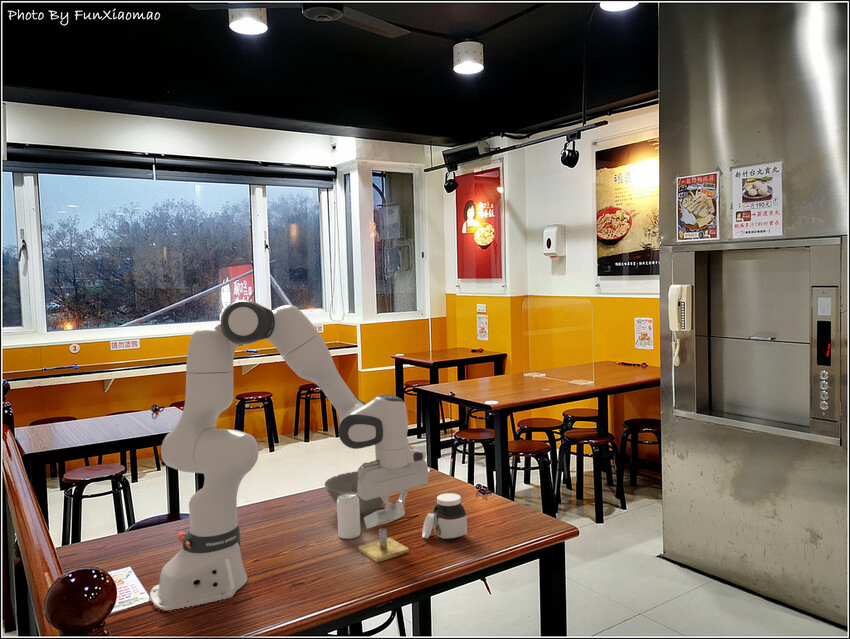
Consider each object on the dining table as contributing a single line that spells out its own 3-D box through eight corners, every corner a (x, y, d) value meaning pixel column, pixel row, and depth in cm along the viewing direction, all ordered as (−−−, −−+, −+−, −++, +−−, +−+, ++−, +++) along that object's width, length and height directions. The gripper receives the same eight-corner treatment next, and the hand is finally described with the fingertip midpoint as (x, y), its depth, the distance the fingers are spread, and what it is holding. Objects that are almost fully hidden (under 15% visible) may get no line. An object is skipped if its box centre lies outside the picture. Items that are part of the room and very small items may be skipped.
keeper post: (376, 562, 165) (375, 540, 165) (358, 550, 173) (357, 528, 173) (408, 552, 171) (407, 530, 170) (389, 540, 179) (388, 519, 179)
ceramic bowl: (342, 530, 188) (340, 497, 187) (316, 508, 208) (314, 478, 207) (408, 514, 199) (406, 483, 198) (377, 495, 219) (375, 466, 218)
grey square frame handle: (414, 510, 165) (411, 499, 166) (388, 517, 160) (385, 506, 162) (391, 521, 175) (388, 510, 176) (366, 528, 171) (363, 517, 172)
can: (356, 540, 180) (354, 499, 180) (335, 539, 182) (333, 498, 181) (363, 531, 187) (361, 491, 186) (342, 530, 188) (340, 491, 187)
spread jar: (471, 539, 177) (470, 499, 177) (437, 549, 172) (435, 507, 171) (448, 526, 188) (446, 488, 187) (415, 535, 182) (413, 496, 181)
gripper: (363, 467, 156) (366, 521, 157) (430, 451, 168) (432, 502, 169) (351, 461, 161) (354, 514, 162) (417, 447, 173) (419, 496, 174)
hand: (394, 508), depth 166 cm, fingers closed on grey square frame handle, 2 cm apart
